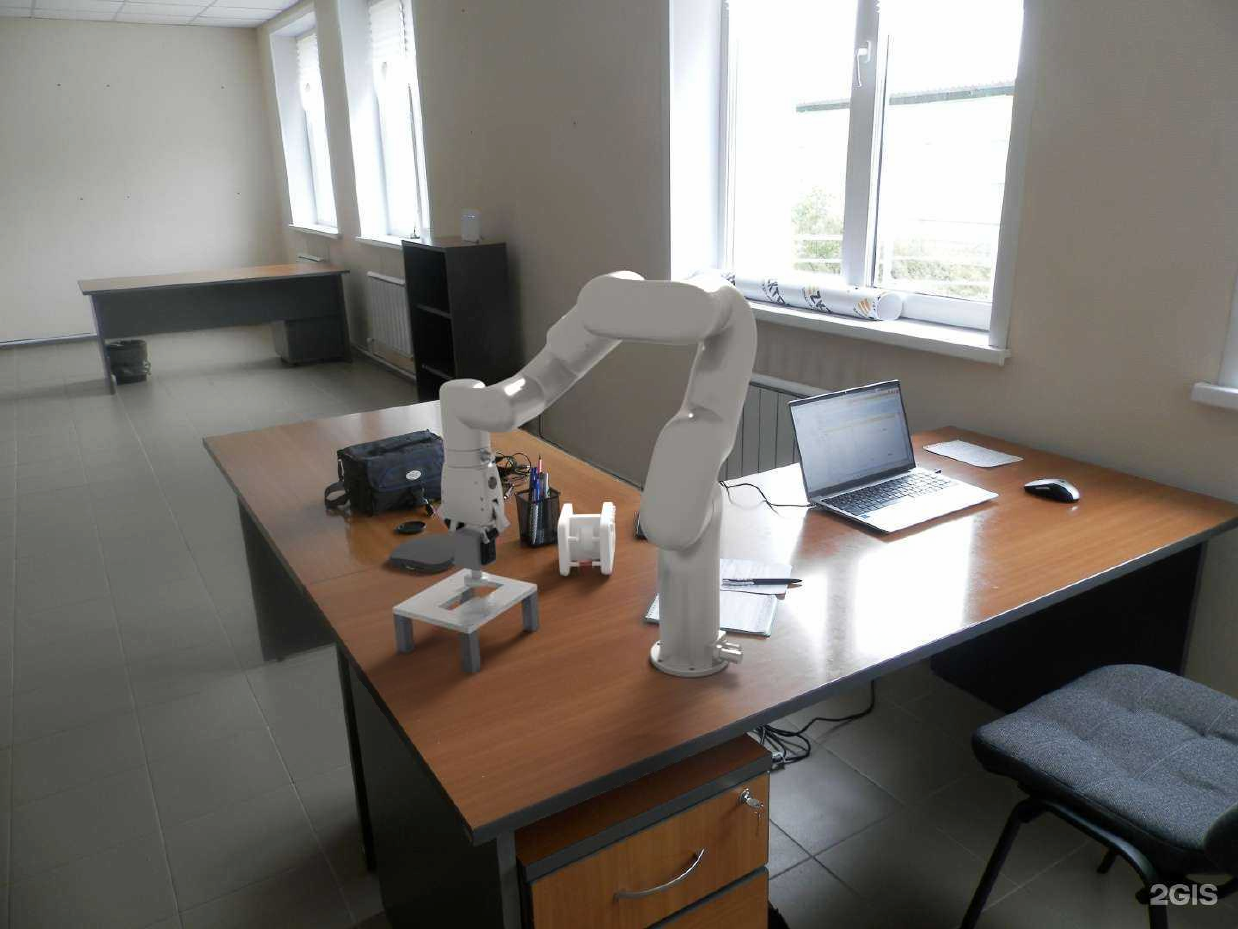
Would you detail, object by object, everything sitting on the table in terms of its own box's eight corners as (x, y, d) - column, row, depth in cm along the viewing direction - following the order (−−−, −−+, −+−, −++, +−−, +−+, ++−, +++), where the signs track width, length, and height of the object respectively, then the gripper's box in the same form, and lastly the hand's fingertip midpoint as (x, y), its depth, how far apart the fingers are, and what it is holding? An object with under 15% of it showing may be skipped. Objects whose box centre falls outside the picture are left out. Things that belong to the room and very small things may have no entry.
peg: (498, 579, 153) (494, 527, 150) (479, 590, 149) (475, 537, 146) (475, 574, 155) (471, 522, 153) (456, 584, 151) (452, 532, 149)
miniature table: (539, 627, 155) (536, 584, 153) (472, 674, 140) (468, 628, 138) (468, 608, 163) (464, 568, 161) (397, 651, 148) (392, 607, 146)
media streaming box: (426, 542, 197) (425, 529, 196) (481, 551, 191) (480, 538, 190) (382, 566, 185) (380, 553, 184) (440, 577, 178) (438, 563, 177)
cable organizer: (567, 551, 188) (564, 499, 185) (617, 550, 188) (615, 498, 184) (559, 581, 174) (556, 524, 170) (613, 580, 173) (611, 523, 170)
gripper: (523, 456, 144) (529, 561, 150) (443, 444, 153) (451, 543, 158) (494, 468, 138) (501, 577, 144) (412, 455, 147) (422, 558, 152)
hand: (475, 558), depth 151 cm, fingers closed on peg, 5 cm apart
